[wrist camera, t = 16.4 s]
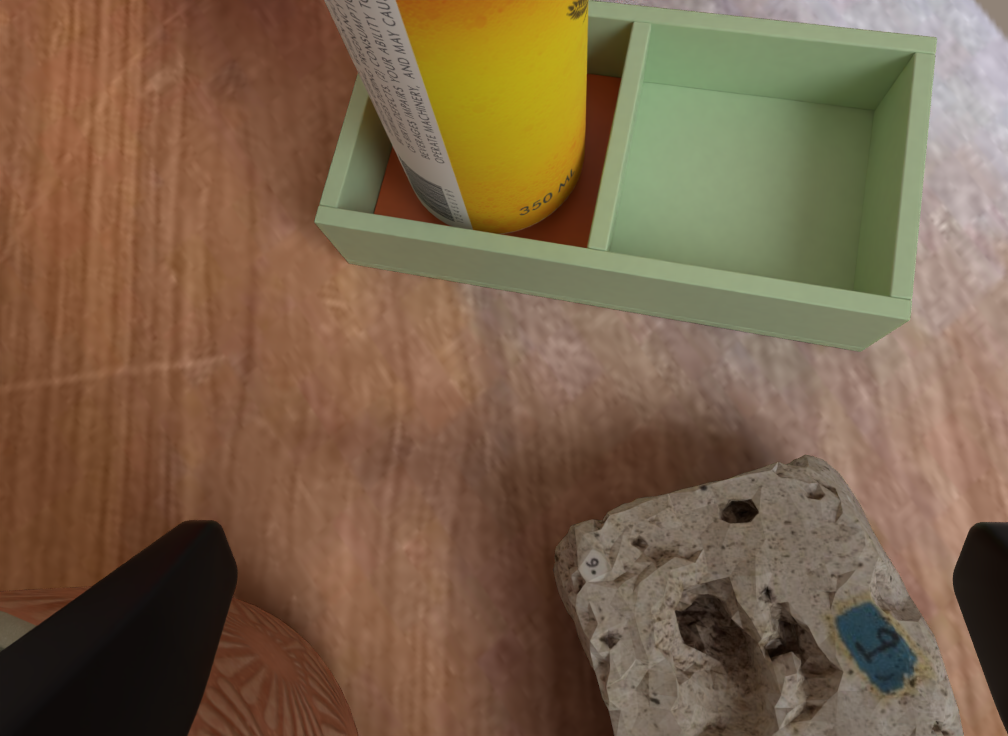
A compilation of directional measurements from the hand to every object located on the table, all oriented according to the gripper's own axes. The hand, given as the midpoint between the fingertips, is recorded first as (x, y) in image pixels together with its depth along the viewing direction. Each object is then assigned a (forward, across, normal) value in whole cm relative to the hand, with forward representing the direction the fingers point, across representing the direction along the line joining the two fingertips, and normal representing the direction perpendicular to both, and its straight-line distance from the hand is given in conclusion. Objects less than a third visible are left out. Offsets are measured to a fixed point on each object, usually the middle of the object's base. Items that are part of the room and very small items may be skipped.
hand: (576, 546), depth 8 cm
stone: (+7, -4, +13) cm, 15 cm away
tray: (+18, -2, +1) cm, 18 cm away
